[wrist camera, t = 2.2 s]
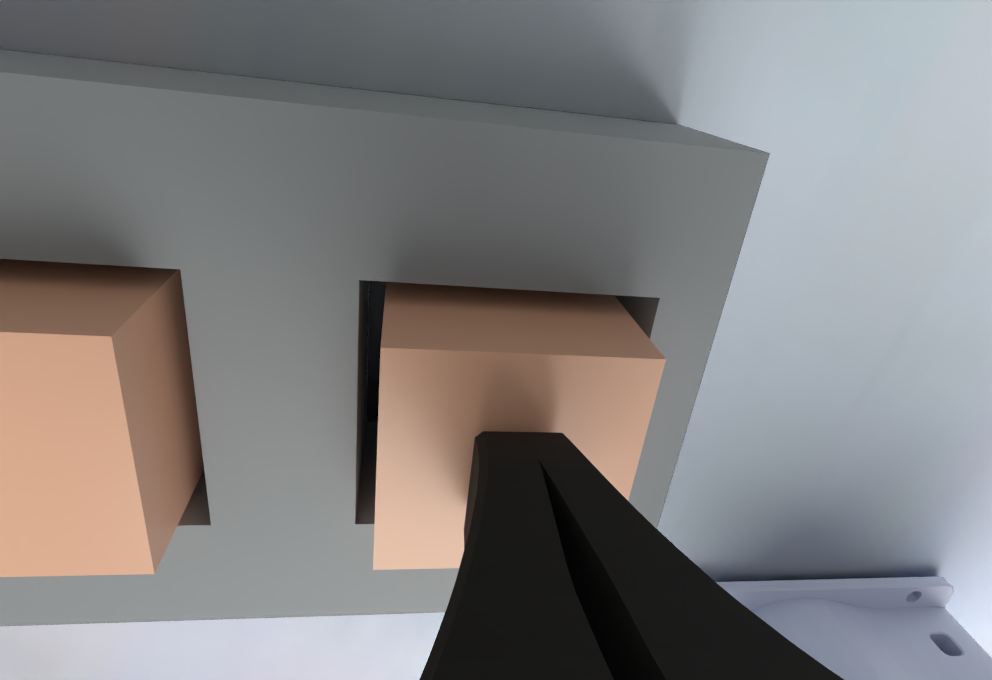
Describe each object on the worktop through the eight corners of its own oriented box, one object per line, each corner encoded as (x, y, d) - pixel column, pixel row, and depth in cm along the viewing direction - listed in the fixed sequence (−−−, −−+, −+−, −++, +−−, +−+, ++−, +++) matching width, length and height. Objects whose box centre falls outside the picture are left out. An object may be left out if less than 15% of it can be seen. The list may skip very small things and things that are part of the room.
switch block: (679, 125, 12) (769, 153, 9) (591, 500, 17) (633, 606, 14) (-169, 30, 10) (-430, 26, 7) (-15, 501, 14) (-132, 630, 11)
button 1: (190, 256, 11) (111, 336, 8) (212, 451, 12) (154, 573, 10) (-84, 239, 10) (-282, 321, 7) (-18, 448, 12) (-154, 580, 9)
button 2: (603, 282, 12) (665, 359, 9) (568, 455, 14) (611, 565, 11) (387, 269, 11) (380, 347, 8) (380, 453, 13) (373, 569, 10)
